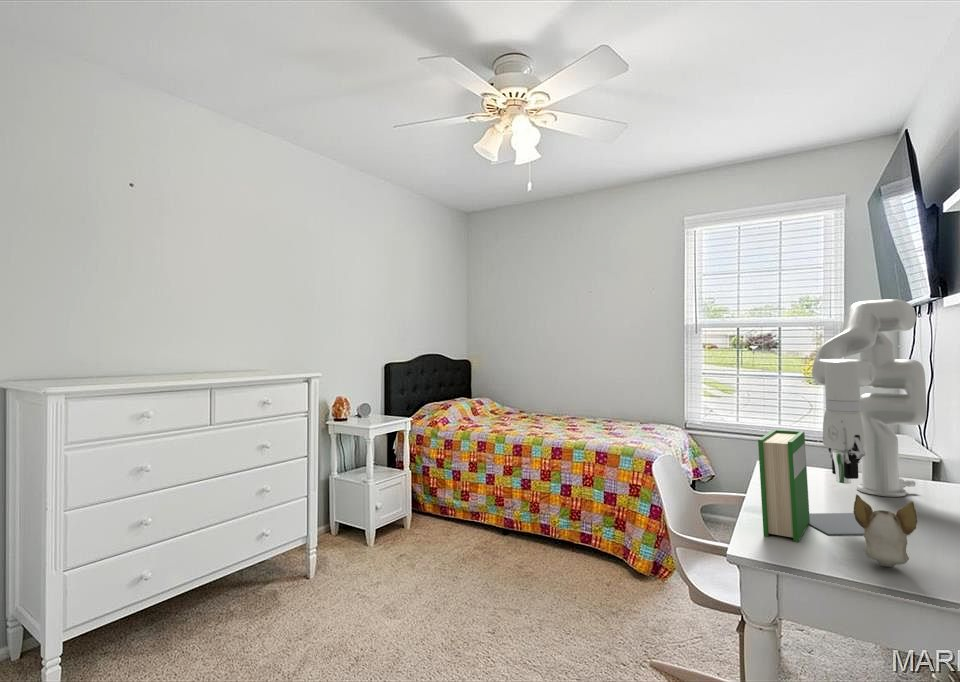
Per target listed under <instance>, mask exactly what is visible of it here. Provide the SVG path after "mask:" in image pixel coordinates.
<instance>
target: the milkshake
mask: <svg viewBox="0 0 960 682" xmlns="http://www.w3.org/2000/svg"><path fill="white" fill-rule="evenodd" d="M849 451H853V450H849ZM832 452H833V459H834V466H835V474H834V475H835V481H836V482H837V483H839V484H846V485H847V484H851V483H852V479H846V478H845V474H844V463H846V459H845V452H842V451H839V450H835V449H833V450H832ZM852 454H853V453H850V457H851V456H852Z"/></svg>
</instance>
